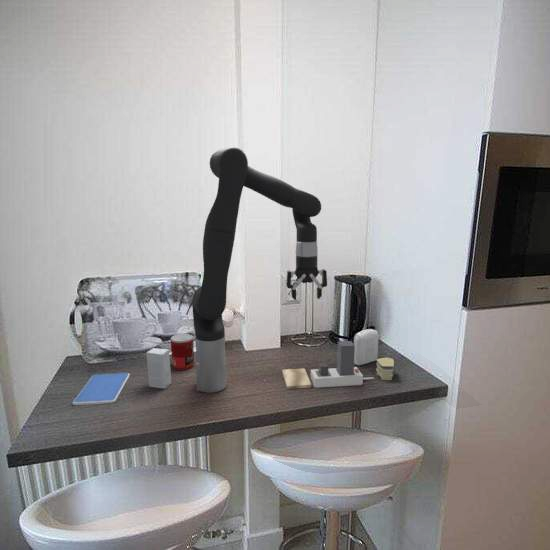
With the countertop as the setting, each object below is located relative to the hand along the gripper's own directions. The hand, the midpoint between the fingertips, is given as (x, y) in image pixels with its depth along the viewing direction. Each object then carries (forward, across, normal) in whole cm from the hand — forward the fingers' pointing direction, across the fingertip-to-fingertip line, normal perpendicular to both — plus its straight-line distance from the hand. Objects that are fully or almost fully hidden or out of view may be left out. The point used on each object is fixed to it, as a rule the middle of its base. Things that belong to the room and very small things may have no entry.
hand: (306, 298), depth 141 cm
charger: (+21, +10, -16) cm, 28 cm away
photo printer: (+25, +22, -2) cm, 33 cm away
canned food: (+24, -45, +2) cm, 51 cm away
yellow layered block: (+25, +25, -14) cm, 38 cm away
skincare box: (+24, -51, -12) cm, 58 cm away
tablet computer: (+24, -69, -12) cm, 74 cm away
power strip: (+25, +10, -16) cm, 31 cm away
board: (+24, -6, -13) cm, 28 cm away
